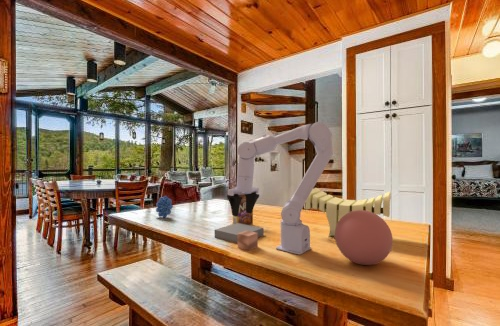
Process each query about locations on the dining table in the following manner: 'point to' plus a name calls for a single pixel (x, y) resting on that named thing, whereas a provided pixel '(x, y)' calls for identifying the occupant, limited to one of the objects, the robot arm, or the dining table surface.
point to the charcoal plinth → (236, 231)
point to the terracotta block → (247, 240)
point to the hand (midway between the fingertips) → (242, 214)
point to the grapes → (164, 206)
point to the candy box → (243, 213)
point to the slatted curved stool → (345, 206)
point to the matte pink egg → (363, 237)
